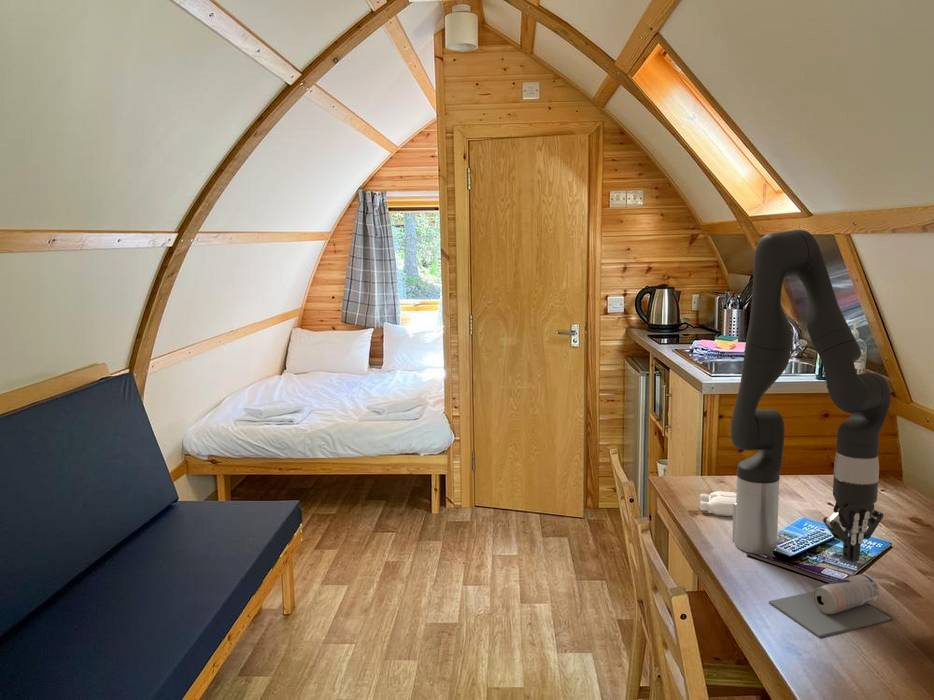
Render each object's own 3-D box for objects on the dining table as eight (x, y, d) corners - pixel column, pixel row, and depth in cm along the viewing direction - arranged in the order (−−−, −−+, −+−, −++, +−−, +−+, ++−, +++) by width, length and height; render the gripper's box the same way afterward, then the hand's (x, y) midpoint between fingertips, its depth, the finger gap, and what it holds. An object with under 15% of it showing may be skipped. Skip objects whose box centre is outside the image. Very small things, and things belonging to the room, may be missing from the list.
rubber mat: (768, 603, 138) (768, 601, 138) (836, 588, 143) (836, 586, 143) (818, 637, 126) (818, 635, 126) (890, 620, 131) (891, 618, 131)
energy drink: (852, 574, 140) (808, 586, 136) (874, 573, 136) (829, 586, 131) (861, 601, 139) (817, 615, 134) (884, 601, 134) (839, 615, 130)
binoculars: (765, 522, 177) (766, 505, 177) (700, 516, 182) (700, 499, 182) (762, 507, 187) (762, 490, 186) (700, 502, 192) (700, 486, 192)
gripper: (866, 465, 138) (861, 547, 141) (813, 474, 134) (809, 557, 137) (899, 477, 131) (893, 562, 134) (844, 486, 127) (839, 574, 130)
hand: (850, 560), depth 135 cm, fingers closed
